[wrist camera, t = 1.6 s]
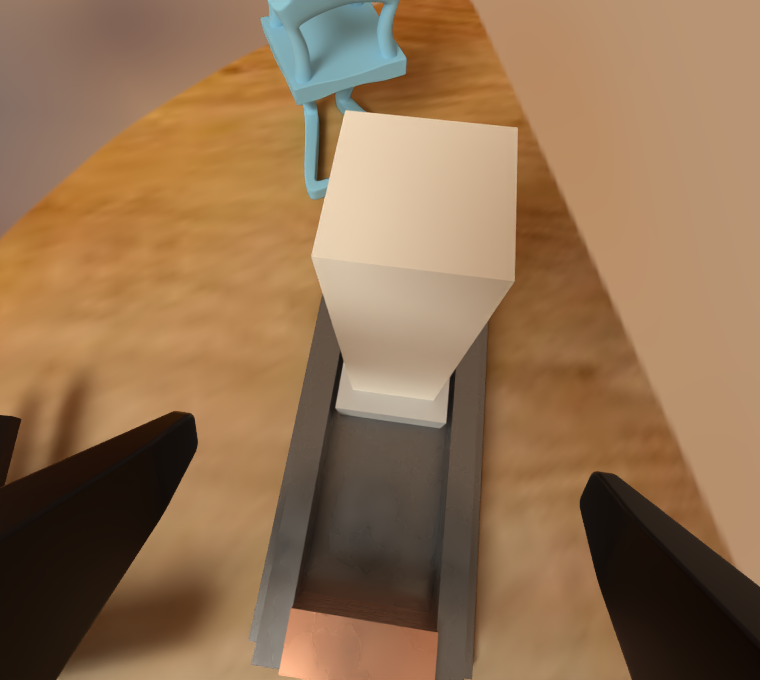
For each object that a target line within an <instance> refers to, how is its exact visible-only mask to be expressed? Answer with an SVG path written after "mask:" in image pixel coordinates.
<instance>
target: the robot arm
mask: <svg viewBox="0 0 760 680" xmlns="http://www.w3.org/2000/svg"><path fill="white" fill-rule="evenodd" d="M197 445H198V439H197V432H196V425H195V418H194V416H193V415H192V414H191V413H186V412H179V411H173V412H171V413H168V414H166V415H164V416H162V417H159V418H157V419H155V420H152V421H150V422H148V423H146V424H143V425H141V426H139V427H137V428H134V429H132V430H130V431H128V432H125V433H123V434H121V435H118V436H116V437H114V438H112V439H109V440H107V441H105V442H103V443H100V444H98V445H96V446H94V447H91V448H89V449H87V450H84V451H82V452H80V453H78V454H75V455H73V456H71V457H69V458H66V459H64V460H62V461H60V462H57V463H55V464H53V465H50V466H48V467H46V468H44V469H41V470H39V471H37V472H35V473H32V474H30V475H28V476H25V477H23V478H21V479H19V480H16V481H14V482H12V483H10V484H7V485H5V486H3V487H1V488H0V680H56V679H57V678H58V676H59V675H60V673H61V672H62V670H63V669H64V667H65V665H66V664H67V662H68V661H69V659H70V658H71V656H72V655H73V653H74V652H75V650H76V648H77V647H78V645H79V644H80V642H81V641H82V639H83V638H84V636H85V635H86V633H87V631H88V630H89V628H90V627H91V625H92V624H93V622H94V621H95V619H96V618H97V616H98V614H99V613H100V611H101V610H102V608H103V607H104V605H105V604H106V602H107V601H108V599H109V597H110V596H111V594H112V593H113V591H114V590H115V588H116V587H117V585H118V584H119V582H120V580H121V579H122V577H123V576H124V574H125V573H126V571H127V570H128V568H129V567H130V565H131V563H132V562H133V560H134V559H135V557H136V556H137V554H138V553H139V551H140V550H141V548H142V546H143V545H144V543H145V542H146V540H147V539H148V537H149V536H150V534H151V533H152V531H153V529H154V528H155V526H156V525H157V523H158V522H159V520H160V518H161V517H162V515H163V514H164V512H165V510H166V508H167V506H168V505H169V503H170V501H171V499H172V497H173V495H174V493H175V491H176V489H177V487H178V485H179V483H180V481H181V479H182V477H183V476H184V474H185V472H186V470H187V468H188V466H189V464H190V462H191V460H192V458H193V456H194V454H195V452H196V449H197ZM580 510H581V515H582V519H583V523H584V527H585V531H586V535H587V540H588V544H589V548H590V552H591V556H592V560H593V564H594V569H595V572H596V576H597V580H598V583H599V586H600V589H601V592H602V595H603V598H604V601H605V604H606V607H607V609H608V612H609V615H610V618H611V621H612V624H613V627H614V630H615V632H616V635H617V638H618V641H619V644H620V647H621V650H622V652H623V655H624V658H625V661H626V664H627V667H628V670H629V673H630V675H631V678H632V680H760V587H759V586H758V585H757V584H755V583H754V582H753V581H752V580H750V579H749V578H748V577H747V576H745V575H744V574H743V573H741V572H740V571H739V570H738V569H736V568H735V567H734V566H732V565H731V564H730V563H729V562H727V561H726V560H725V559H723V558H722V557H721V556H720V555H718V554H717V553H716V552H714V551H713V550H712V549H711V548H709V547H708V546H707V545H705V544H704V543H703V542H702V541H700V540H699V539H698V538H696V537H695V536H694V535H693V534H691V533H690V532H689V531H687V530H686V529H685V528H684V527H682V526H681V525H680V524H678V523H677V522H676V521H675V520H673V519H672V518H671V517H669V516H668V515H667V514H666V513H664V512H663V511H662V510H660V509H659V508H658V507H657V506H655V505H654V504H653V503H651V502H650V501H649V500H648V499H646V498H645V497H644V496H642V495H641V494H640V493H639V492H637V491H636V490H635V489H633V488H632V487H631V486H630V485H628V484H627V483H626V482H624V481H623V480H622V479H621V478H619V477H618V476H617V475H615V474H612V473H606V472H599V471H596V472H593V473H592V474H591V476H590V478H589V480H588V482H587V484H586V487H585V489H584V491H583V493H582V496H581V498H580Z"/></svg>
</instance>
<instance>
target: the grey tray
mask: <svg viewBox="0 0 760 680" xmlns="http://www.w3.org/2000/svg"><path fill="white" fill-rule="evenodd" d="M487 337H488V321H487V323H486V324H485V326H484V327H483V329H482V330H481V332H480V333H479V335H478V336H477V338H476V339H475V341H474V342H473V343H472V345H471V346H470V348H469V349H468V351H467V352H466V354H465V355H464V357H463V358H462V360H461V361H460V363H459V364H458V365H457V367H456V368H455V370H454V371H453V373H452V374H451V376H450V380H449V393H448V405H447V418H446V424H445V425H443V426H442V427H441V428H434V427H427V426H419V425H412V424H405V423H398V422H391V421H384V420H377V419H370V418H363V417H356V416H349V415H341V414H339V413H338V411H337V409H336V408H335V407H336V401H337V396H338V390H339V385H340V379H341V374H342V368H343V363H344V360H343V357H342V353H341V350H340V347H339V344H338V341H337V337H336V334H335V331H334V328H333V325H332V322H331V318H330V315H329V312H328V309H327V306H326V302H325V299H324V296H323V294H322V298H321V303H320V308H319V312H318V317H317V322H316V326H315V331H314V336H313V340H312V345H311V350H310V354H309V359H308V364H307V369H306V373H305V378H304V383H303V387H302V392H301V397H300V401H299V406H298V411H297V415H296V420H295V425H294V430H293V434H292V439H291V444H290V448H289V453H288V458H287V462H286V467H285V472H284V476H283V481H282V486H281V490H280V495H279V500H278V505H277V509H276V514H275V519H274V523H273V528H272V533H271V537H270V542H269V547H268V551H267V556H266V561H265V566H264V570H263V575H262V580H261V584H260V589H259V594H258V598H257V603H256V608H255V612H254V617H253V622H252V626H251V631H250V636H249V641H252V642H256V645H255V650H254V655H253V660H252V665H257V666H263V667H268V668H274V669H279V674H278V675H283V676H289V677H295V678H300V679H306V680H464V678H466V679H472V667H473V645H474V623H475V601H476V579H477V557H478V535H479V513H480V491H481V469H482V447H483V425H484V403H485V381H486V359H487Z"/></svg>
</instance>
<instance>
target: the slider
mask: <svg viewBox="0 0 760 680" xmlns="http://www.w3.org/2000/svg"><path fill="white" fill-rule="evenodd" d="M517 149H518V128H516V127H506V126H496V125H486V124H477V123H467V122H457V121H447V120H437V119H427V118H417V117H407V116H398V115H388V114H378V113H368V112H358V111H348V110H345V114H344V118H343V122H342V127H341V131H340V135H339V140H338V144H337V148H336V153H335V157H334V161H333V165H332V170H331V174H330V178H329V183H328V187H327V191H326V195H325V200H324V204H323V208H322V213H321V217H320V221H319V225H318V230H317V234H316V238H315V243H314V247H313V251H312V255H311V258H312V261H313V264H314V267H315V271H316V274H317V277H318V280H319V283H320V287H321V290H322V293H323V296H324V299H325V302H326V306H327V309H328V312H329V315H330V318H331V322H332V325H333V328H334V331H335V334H336V337H337V341H338V344H339V347H340V350H341V353H342V357H343V360H344V363H343V368H342V374H341V379H340V385H339V390H338V396H337V401H336V407H335V408H336V409H337V411H338V413H339V414H341V415H349V416H356V417H363V418H370V419H377V420H384V421H391V422H398V423H405V424H412V425H419V426H427V427H434V428H441V427H442V426H443V425H445V424H446V418H447V405H448V393H449V380H450V376H451V374H452V373H453V371H454V370H455V368H456V367H457V365H458V364H459V363H460V361H461V360H462V358H463V357H464V355H465V354H466V352H467V351H468V349H469V348H470V346H471V345H472V343H473V342H474V341H475V339H476V338H477V336H478V335H479V333H480V332H481V330H482V329H483V327H484V326H485V324H486V323H487V321H488V320H489V319H490V317H491V316H492V314H493V313H494V311H495V310H496V308H497V307H498V305H499V304H500V302H501V301H502V299H503V298H504V297H505V295H506V294H507V292H508V291H509V289H510V288H511V286H512V285H513V283H514V282H515V247H516V198H517Z"/></svg>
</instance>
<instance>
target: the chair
mask: <svg viewBox="0 0 760 680" xmlns="http://www.w3.org/2000/svg"><path fill="white" fill-rule="evenodd" d="M267 1H268V3H269V16H266V17H263V18H261V22H262V27H263V30H264V34H265V36H266V38H267V41H268V43H269V46H270V48H271V51H272V53H273V55H274V57H275V60H276V62H277V64H278V66H279V68H280V70H281V72H282V73H283V75H284V77H285V79H286V81H287V84H288V86H289V88H290V91H291V93H292V95H293V97H294V99H295V102H296V104H297V106H298V105H303V107H304V114H305V182H306V187H307V191H308V194H309V197H310V198H311V199H320V198H323V197H325V195H326V191H327V187H328V183H329V178H327V179H324V180H321V181H317V172H318V155H319V117H318V110H317V105H316V102H315V101H316V100H319V99H322V98H324V97H327V96H329V95H331V94H334V93H335V97H336V106H337V108H338V109H339V111H340V112H341V113H342V114H343V115H344V114H345V110H348V111H358V112H366V111H365V110H363V109H362V108H361V107H360V106H359V105H358V104H357V103H356V102H355V101H354V100H353V99H352V98H351V97H350V96H351V93H352V91H353V89H354V87H355V86H358V85H361V84H366V83H372V82H379V81H385V80H388V79H392V78H395V77H399V76H402V75H406V64H407V58H406V56H405V55H404V53H403V52H402V50H401V49H400V47H399V45H398V44H397V43H396V41H395V40H394V39H393V33H392V27H393V20H394V16H395V12H396V9H397V6H398V3H399V0H267ZM371 2H381V3H385V4H384V6H383V9H382V11H381V14H380V17H379V16H378V14H377V12H376V11H375V9H374V7H373V5H372V4H371Z"/></svg>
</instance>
